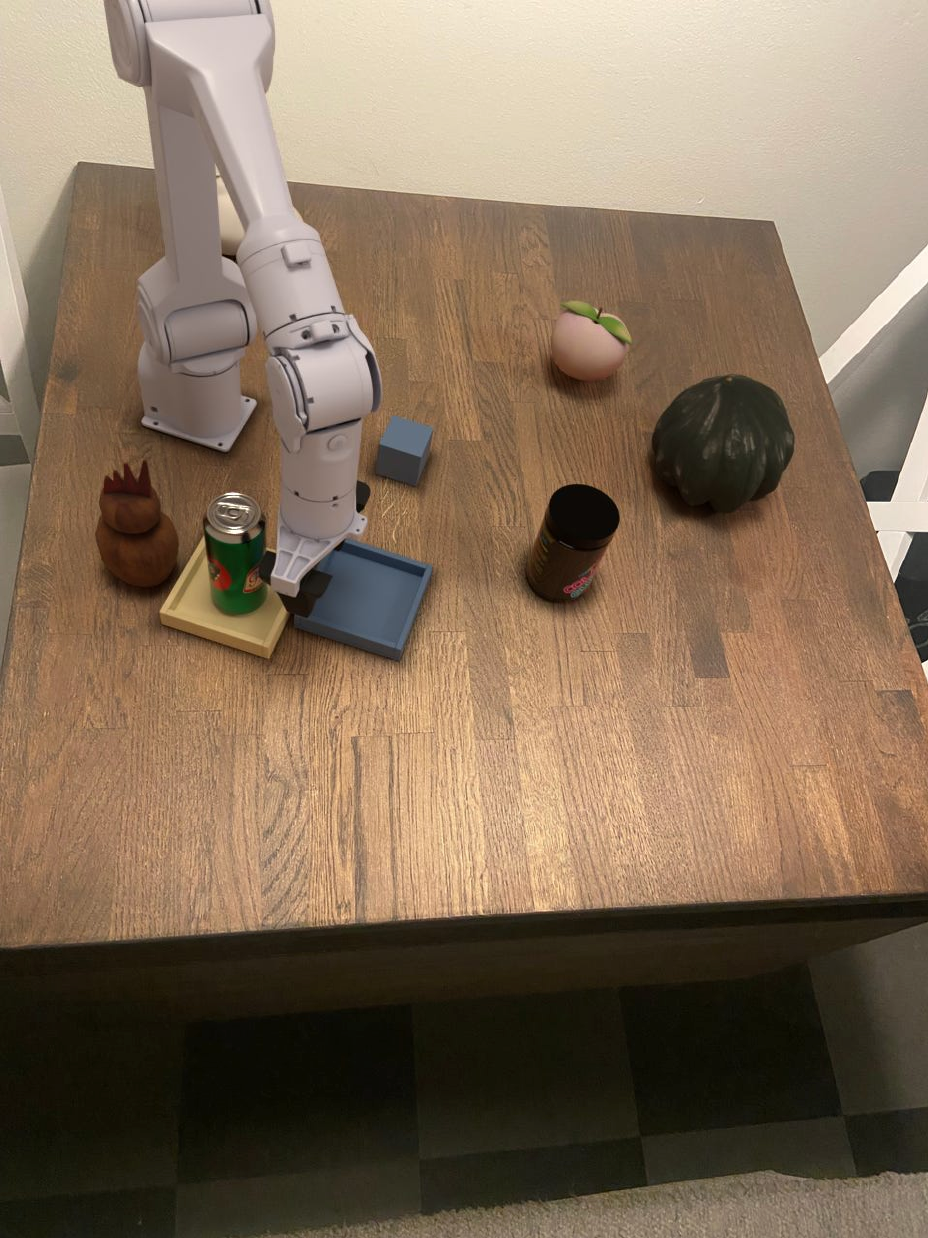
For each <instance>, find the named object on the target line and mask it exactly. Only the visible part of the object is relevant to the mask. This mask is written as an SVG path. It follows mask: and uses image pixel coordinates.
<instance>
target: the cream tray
mask: <svg viewBox="0 0 928 1238" xmlns="http://www.w3.org/2000/svg"><path fill="white" fill-rule="evenodd" d="M266 550H268V551H271V552H274V553H276V552H277V549H273V548H271V547H267V546H266ZM267 589H268V592H267V598H266V600H265V602H264V603H263V605H262V606H261V607H260V608H258V609H257V610H255V611H253V612H251V613H248V614H243V615H234V614H230V613H227V612H224V611H222V610H221V609H219V608H218V607H217V606H216V605H215V603H214V602H213V600H212V597H211V590H210V582H209V573H208V564H207V556H206V547H205V538H204V535H203V536H202V537H201V540H200V541H199V543H198V544H197V546H196V548H195V550H194V551H193V553H192V555H191V556H190V559H189V560H188V562H187V563H186V565H185V567H184V568H183V570H182V571H181V574H180V576H179V577H178V579H177V580H176V583H175V584H174V586H173V587H172V589H171V590H170V593H169V594H168V595H167V598H166V599H165V601H164V603H163V605H162V606H161V607H160V609H159V611H158V614H159V617H160V622H161V625H164V626H166V627H170V628H173V629H176V630H179V631H182V632H185V633H188V634H192V635H194V636H196V637H200V638H203V639H207V640H209V641H213V642H216V643H219V644H222V645H225V646H228V647H231V648H234V649H237V650H240V651H243V652H245V653H249V654H252V655H255V656H259V657H262V658H264V659H267V660H269V659H270V658H271V656H272V654H273V652H274V649H275V647H276V645H277V644H278V641H279V639H280V637H281V635H282V633H283V631H284V629H285V627H286V625H287V622H288V620H289V618H290V616H291V614H292V613H289V612H287V611H286V609H285V607H284V605H283V603H282V601H281V599H280V597H279V596H278V594H277V593H276V591H274V590H271V586H270V585H268V584H267Z"/></svg>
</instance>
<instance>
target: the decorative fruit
mask: <svg viewBox="0 0 928 1238" xmlns="http://www.w3.org/2000/svg"><path fill="white" fill-rule="evenodd" d="M560 306H561V307H563V308H565V310H564V311H563V312H562V313H561V314H560V315H559V316H558V318H557V319H556V320H555V323H554V325H553V328H552V330H551V335H550V351H551V355H552V359H553V361H554V363H555V364H556V366H557V367H558V368H559V369H560V371H562V372H563V373H564V374H566V375H567V376H569V377H571V378H573V379H576V380H579V381H582V382H590V383H591V382H592V383H593V382H599V381H603V380H604V379H606V378H609V377H610V376H611V375H613V374H614V373H616V371H617V370H618V369H619V368H620V367H621V366H622V365H623V363H624V362H625V360H626V358H627V356H628V352H629V349H630V346H633V340H632V336H631V334H630V332H629V330H628V328H627V326H626V324H625V323H624V322H623V321H622V320H621V319H620V318H619V317H618V316H617V315H615V314H613V313H612V314H611V313H606V312H603V310H604V308H603V306H601V307H599V310H598V309H597V308H596V307H594V306H592V305H591V304H589V303H587V302H585V301H582V300H570V301H569V300H568V301H565V302H562V303H560Z"/></svg>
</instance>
